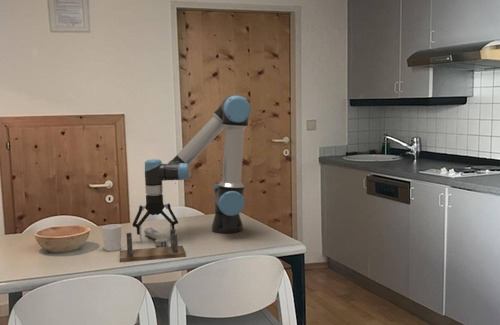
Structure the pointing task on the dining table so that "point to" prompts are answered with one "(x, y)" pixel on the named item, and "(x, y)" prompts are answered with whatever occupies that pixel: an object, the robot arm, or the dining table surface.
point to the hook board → (152, 250)
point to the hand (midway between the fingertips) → (156, 240)
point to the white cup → (112, 237)
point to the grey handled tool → (157, 236)
